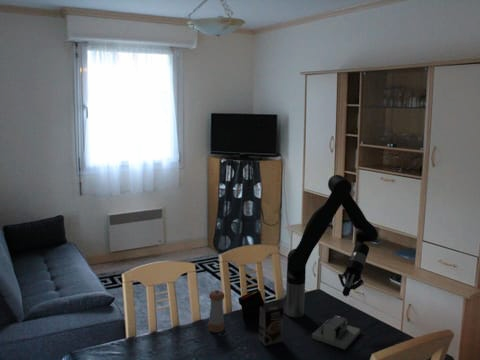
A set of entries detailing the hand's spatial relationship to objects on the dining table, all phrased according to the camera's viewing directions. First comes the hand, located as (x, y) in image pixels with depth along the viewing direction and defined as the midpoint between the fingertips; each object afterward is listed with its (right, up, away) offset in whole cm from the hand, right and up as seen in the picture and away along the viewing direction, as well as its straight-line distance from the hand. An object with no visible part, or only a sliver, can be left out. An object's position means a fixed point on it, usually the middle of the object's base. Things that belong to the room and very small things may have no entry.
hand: (345, 295), depth 222 cm
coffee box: (-35, -18, -9) cm, 41 cm away
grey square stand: (-5, -18, -3) cm, 19 cm away
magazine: (-43, -14, +11) cm, 47 cm away
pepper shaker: (-60, -16, +1) cm, 62 cm away
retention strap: (-2, -10, -1) cm, 11 cm away
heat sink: (-6, -16, -5) cm, 18 cm away
